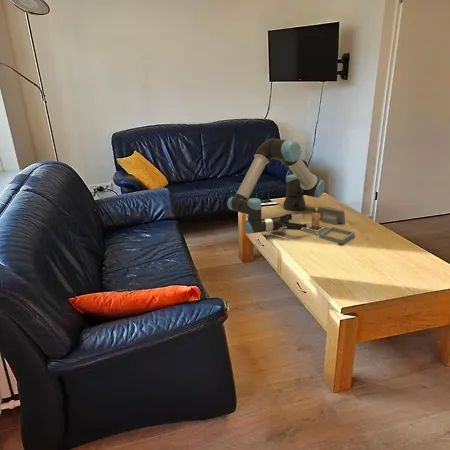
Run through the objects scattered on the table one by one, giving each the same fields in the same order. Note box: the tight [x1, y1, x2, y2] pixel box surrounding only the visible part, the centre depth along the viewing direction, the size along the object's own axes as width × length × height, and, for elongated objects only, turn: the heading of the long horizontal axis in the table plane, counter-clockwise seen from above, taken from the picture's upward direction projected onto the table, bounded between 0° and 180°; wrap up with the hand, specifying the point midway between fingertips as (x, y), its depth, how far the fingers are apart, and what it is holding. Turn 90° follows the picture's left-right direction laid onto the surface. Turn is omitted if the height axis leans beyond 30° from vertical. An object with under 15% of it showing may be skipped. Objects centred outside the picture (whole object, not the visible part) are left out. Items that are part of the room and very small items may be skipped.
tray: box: [318, 226, 356, 246], centre depth 220 cm, size 14×14×3 cm
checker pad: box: [299, 224, 330, 236], centre depth 231 cm, size 14×12×2 cm
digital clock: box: [318, 204, 346, 226], centre depth 240 cm, size 16×9×11 cm, turn 39°
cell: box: [311, 207, 321, 230], centre depth 229 cm, size 4×4×13 cm
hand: (306, 220), depth 228 cm, fingers open, 13 cm apart
